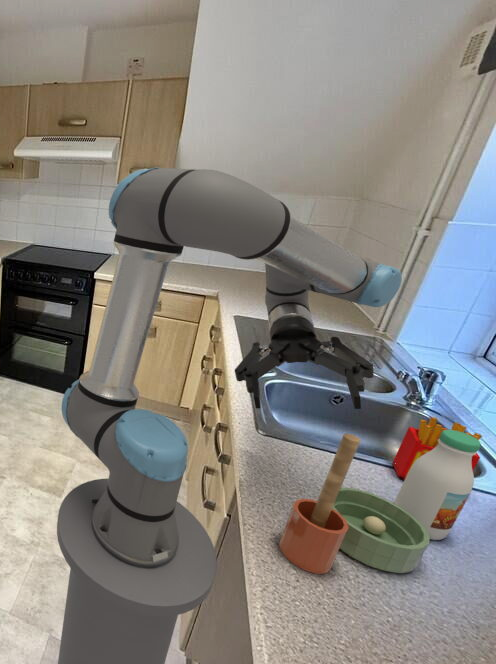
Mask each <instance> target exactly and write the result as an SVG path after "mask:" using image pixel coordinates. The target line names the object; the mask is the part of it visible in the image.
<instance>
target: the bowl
mask: <svg viewBox="0 0 496 664" xmlns="http://www.w3.org/2000/svg"><path fill="white" fill-rule="evenodd" d="M333 509H334V510H336V511H337V512H338V513H340V514H341V515H342V516H343V517H344V519H345V520H346V521H347V524H348V526H349V528H348V530H347V533H346V535H345V537H344V539H343V542H342V544H341V546H340V548H339V550H341V551H342V552H343V553H345V554H346V555H348V556H349V557H351V558H352V559H354V560H356V561H358V562H360V563H362V564H364V565H366V566H369V567H371V568H374V569H377V570H381V571H384V572H389V573H396V574H403V573H411V572H412V571H413V570H415V569H416V568H417V567H418V565H419V564H420V561H421V559H422V558H423V556H424V554H425V552H426V550H427V549H428V547H429V545H430V540H431V539H430V536H429V534H428V532H427V530H426V529H425V527H424V526H423V525H422V524H421V523H420V522H419V521H418V520H417V519H416V518H415V517H414V516H412V515H411V514H410V513H408V512H407V511H406V510H404V509H403V508H401V507H400V506H398V505H396V504H394V502H392V501H391V500H389V499H386V498H385V497H382V496H380V495H377V494H375V493H373V492H369V491H366V490H363V489H358V488H354V487H346V486H345V487H341V488H340V491H339V493H338V496H337V498H336V500H335V503H334V505H333ZM368 516H374V517H377V518H379V519H380V520H382V521H383V522H384V524H385V526H386V530H385V532H384V533H383V534H379V535H377V534H373V533H370V532H369V531H368V530H366V528H365V527H364V525H363V521H364V519H365V518H366V517H368Z"/></svg>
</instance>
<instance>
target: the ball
mask: <svg viewBox="0 0 496 664" xmlns="http://www.w3.org/2000/svg"><path fill="white" fill-rule="evenodd" d="M363 525H364V527H365V528H366V530H368V531H369V532H370V533H373V534H377V535H379V534H383V533H384V532H385V530H386V526H385V524H384V522H383V521H382V520H380V519H379V518H377V517H374V516H368V517H366V518H365V519H364V521H363Z"/></svg>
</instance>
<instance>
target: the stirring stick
mask: <svg viewBox="0 0 496 664" xmlns="http://www.w3.org/2000/svg"><path fill="white" fill-rule="evenodd" d="M360 443H361V439H360V438H359V437H358V436H356V435H354V434H351V433H344V434H343V435H342V437H341V440H340V441H339V445H338V447H337V450H336V452H335V455H334V456H333V457H334V458H333V460H332V463H331V465H330V468H329V470H328V473H327V475H326V477H325V480H324V483H323V485H322V487H321V490H320V492H319V495H318V498H317V500H316V501H317V503H316V505H315V508H314V510H313V513H312V515H311V518H310V520H309V521H310V522H311V523H313V524H315V525H317V526H319V527H322V528H324V527H325V524H326V522H327V520H328V517H329V515H330V512H331V510H332V508H333V505H334V503H335V500H336V498H337V496H338V493H339V491H340V488H342V486H343V483H344V481H345V479H346V477H347V474H348V472H349V469H350V467H351V464H352V462H353V459H354V457H355V455H356V452H357V450H358V448H359V445H360Z"/></svg>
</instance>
